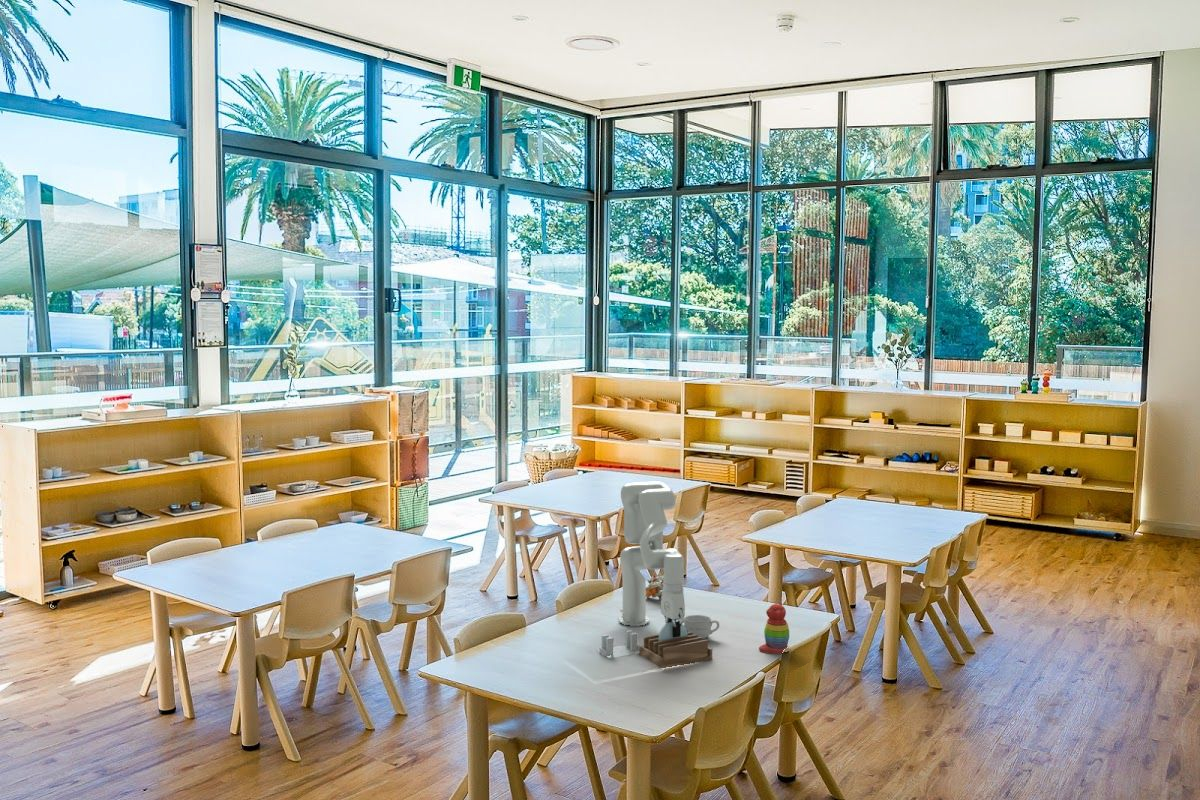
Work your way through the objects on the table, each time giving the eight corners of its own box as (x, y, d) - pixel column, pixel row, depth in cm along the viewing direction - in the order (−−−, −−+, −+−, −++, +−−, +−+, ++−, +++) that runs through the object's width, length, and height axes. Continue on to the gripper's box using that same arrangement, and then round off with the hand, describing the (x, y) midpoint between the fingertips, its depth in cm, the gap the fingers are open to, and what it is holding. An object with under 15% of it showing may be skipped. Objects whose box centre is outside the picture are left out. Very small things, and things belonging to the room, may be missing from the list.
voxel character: (655, 600, 458) (680, 590, 449) (646, 611, 450) (671, 601, 441) (641, 579, 457) (666, 569, 448) (632, 590, 449) (657, 580, 440)
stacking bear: (771, 643, 394) (771, 598, 392) (794, 649, 388) (795, 603, 386) (756, 650, 386) (757, 605, 384) (780, 656, 379) (781, 610, 378)
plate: (653, 645, 376) (667, 616, 378) (676, 657, 382) (690, 628, 384) (655, 647, 375) (669, 617, 377) (678, 658, 380) (692, 629, 382)
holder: (595, 653, 384) (595, 633, 383) (630, 646, 391) (630, 627, 390) (608, 661, 375) (608, 641, 374) (643, 654, 382) (643, 635, 381)
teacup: (679, 639, 399) (679, 619, 398) (690, 631, 409) (690, 612, 408) (712, 645, 393) (713, 624, 392) (722, 636, 402) (723, 617, 401)
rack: (639, 656, 380) (639, 637, 379) (688, 646, 391) (688, 627, 390) (661, 670, 366) (661, 650, 365) (712, 659, 377) (712, 640, 376)
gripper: (653, 582, 383) (652, 630, 385) (677, 593, 368) (676, 643, 370) (669, 580, 386) (669, 627, 388) (694, 591, 372) (694, 639, 374)
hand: (673, 634), depth 379 cm, fingers open, 3 cm apart
